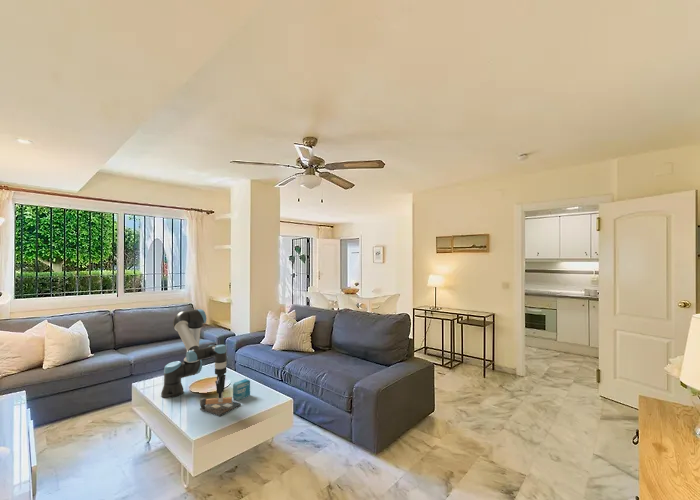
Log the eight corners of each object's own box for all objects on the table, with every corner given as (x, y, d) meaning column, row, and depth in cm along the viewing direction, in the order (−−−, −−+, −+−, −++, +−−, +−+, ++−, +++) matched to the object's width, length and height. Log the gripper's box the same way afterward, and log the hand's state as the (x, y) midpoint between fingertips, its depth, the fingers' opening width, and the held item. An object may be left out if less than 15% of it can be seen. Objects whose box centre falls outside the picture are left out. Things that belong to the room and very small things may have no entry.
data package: (236, 401, 239) (236, 384, 239) (232, 399, 242) (232, 383, 242) (250, 395, 249) (250, 379, 249) (246, 394, 251) (246, 378, 252)
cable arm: (199, 406, 224) (199, 400, 224) (200, 403, 228) (201, 398, 228) (231, 403, 228) (231, 398, 228) (232, 401, 231) (232, 395, 231)
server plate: (199, 409, 226) (199, 405, 226) (221, 399, 241) (221, 395, 241) (219, 416, 216) (219, 412, 216) (240, 405, 232) (240, 401, 232)
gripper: (222, 370, 221) (222, 405, 220) (229, 364, 234) (229, 397, 233) (211, 370, 221) (211, 406, 220) (218, 364, 234) (218, 398, 233)
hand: (220, 401), depth 227 cm, fingers closed
